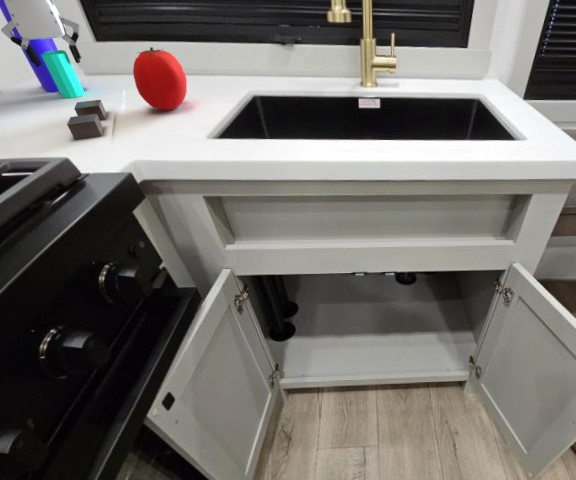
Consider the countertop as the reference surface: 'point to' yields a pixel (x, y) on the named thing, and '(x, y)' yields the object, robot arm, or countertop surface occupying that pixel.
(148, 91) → the tomato
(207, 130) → the countertop surface
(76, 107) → the dark brown block
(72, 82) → the candle
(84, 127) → the dark grey block
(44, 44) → the bottle
